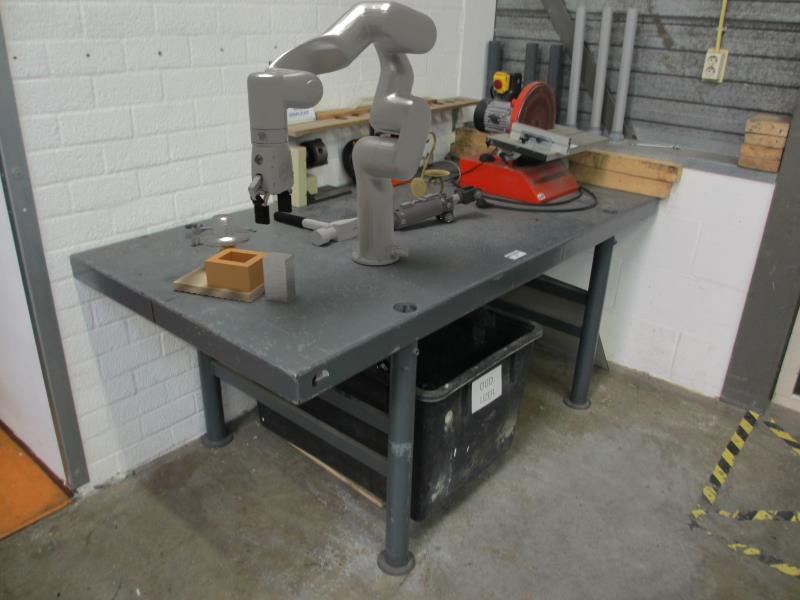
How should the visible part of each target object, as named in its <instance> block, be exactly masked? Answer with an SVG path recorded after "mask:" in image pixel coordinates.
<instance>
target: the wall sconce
mask: <svg viewBox="0 0 800 600" xmlns="http://www.w3.org/2000/svg"><path fill="white" fill-rule="evenodd" d="M430 134H431V135H432V139H433V144H432V145H431V149H430V151H429V153H428V156H427V157H426V159H425V162H424V165H423V167H422V171H421V176H420V177H413V178H412V181H411V183H410V190H411V193H412V194H413V196H414V197H416V198H420V199H421V198H422V197H423V196H426V195H427V194H426V193H427V190H428V191H429V192H431V191H434V190H435V187H434V186H437V183H438V181H437V180H438V179H439V181H440V190H439V192H438V193H439V194H442V193H444V180H443V177H447V176H449V175H450V174H451V173H450V171H448V170H445V169H427V166H428V165H429V162H430V160H431V157H432V156H433V153H434V151H435V148H436V145H437V135H436V133H435V132H434V131H433V130H430V131H429V134H428V135H430ZM429 142H431V141H430V139H429V138H427V141H426V144H429ZM425 176H426V177H427V176H428V177H430V178H429V180H428V182H427V184H426V181H424V179H425ZM433 180H434V181H433ZM432 181H433V183H432ZM431 183H432V184H433V187H431Z"/></svg>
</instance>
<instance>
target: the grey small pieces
mask: <svg viewBox="0 0 800 600" xmlns="http://www.w3.org/2000/svg"><path fill="white" fill-rule="evenodd" d="M243 228H244V229H246V230H248V231H249V232H252V233H253V232H254V231H256V232H257V230H256V229H254V227H253V228H252V227H243ZM209 229H214V226H212V227H210V226H208V227H207V226H206V227H205V226H203V227H202V226H201V224H200V223H198V224H196V223H194V224H193V227H191V233H190V240H191V245H192V246H194V247H196V243H197V245H198V246H201V245H203V244H201V243H200V240H199V237H198V236H199V235H200V234H201V233H202V232H204V231H206V230H209ZM197 237H198V240H197Z"/></svg>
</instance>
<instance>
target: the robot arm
mask: <svg viewBox="0 0 800 600" xmlns="http://www.w3.org/2000/svg"><path fill="white" fill-rule="evenodd" d="M437 37H438V32H437V26H436V23H435V21H433V19H432V18H431V16H429V15H428V14H425V13H423V12H421V11H418V10H416V9H414V8H412V7H410V6H408V5H405V4H402V3H400V2H397V1H393V0H363V1H358V2H356V3H354V4H353V5H351V6H350V8H349V9H347V10H346V11H345V12H344V13H343V14H342V15H340V17H339V18H338V19H337V20H336V21H334V22H333V23H332V24H331V25H330V26H329V27H328V28H326V30H325V31H323V32H322V33H320V34H319V35H317V36H314V37H312V38H310V39H308V40H306V41H304V42H302V43H300V44H298V45H295V46H294V47H292V48H290V49H288V50H286V51H285V52H284V53H282V54H281V55H279V56H278V57H277V58H276V59H275V60H274V61H273V62H272V63H270V64H269V65H268V67H267V68H265V70H264V71H255V72H251V73H249V74H248V76H247V79H246V88H247V102H248V103H247V105H248V115H249V116H248V117H249V132H250V144H251V161H250V163H251V164H250V165H251V166H250V167H251V168H250V169H251V183H250V184H249V186H248V187H247V191H248V194H249V198H250V200H251V203H252V205H253V209H254V222H255V224H257V225H258V224H259V225H267V226H268V225H270V224H271V218H270V214H271V213H270V206H269V205H268V202H269V199H270V196H276V197H277V198H276V199H277V211H278V212H283V213H287V214H291V213H292V212H293V203H292V202H293V201H292V194H293V189H292V188H293V186H294V184H295V181H294V180H295V178H294V177H295V176H294V174H295V172H294V168H293V159H292V152H291V145H290V142H289V126H288V109H299V110H307V109H308V110H309V109H311V108H314V107H315V106H317V105H318V104H319V103H320V102H321V100H322V98H323V95H324V86H323V82H322V81H321V79H320V78H319V77H318V76H320V75H323V74H324V75H325V74H331V73H333V72H338V71H341V70H344V69H346V68H347V67H349V66H350V65H351V64H352V63H353V62H354V61H355V60H356V59H357V58H358V57H359V56H360V55H362V53H363V52H364V51H365V50H366V49H367V48H368V47H369V46H371V44H373V46H374V50H375V51H376V53H377V57H378V59H379V60H378V61H379V65H380V66H379V68H380V73H379V78H378V82H377V86H376V90H375V92H374V96H373V100H372V104H371V108H370V111H369V124H370V126H371V127H372V128H373V130H376V131H377V132H379V133H384V134H390V135H396V136H398V139H396V138H390V137H383V136H377V135H369V136H368V135H367V136H364V137H361V138H359V139H358V140H357V141H356V143H355V144H354V145H353V148H352V152H351V153H352V154H351V158H352V159H351V160H352V165H353V170H354V175H355V181H356V182H355V183H356V212H357V213H356V214H357V215H356V217H357V236H356V237H357V248H356V249H354V250H353V251H352V253H351V258H352V261H354V262H355V263H358V264H361V265H365V266H386V265H390V264H393V263H396V262H397V261H398V260H399V259H400V257H406V258H407V257H408V256H409V249H408V248H407V246H399V245H398V240H395V239H394V235H395V234H394V233H395V232H394V229H395V228H394V210H395V192H394V191H395V190H394V187H393V184H392V181H391V180H395V181H399V182H400V181H401V182H402V181H404V182H406V181H410V180H411V179H413V178H414V176H415V175H416V174H417V172H418V170H419V167H420V165H421V161H422V159H423V155H424V152H425V147H426V145H427V143H426V141H427V140H428V139H429V138H428V137H429V135H430V134H429V131H431V125H432V118H433V117H432V109H431V106H430V103H429V102H428V101H427V100H426V98H423V97H421V96H418V95H417V96H416V95H412V90H413V87H414V82H415V73H414V69H413V66H412V64H411V62H410V60H409V58H408V56H407V54H409V55H425V54H427V53H429V52H430V51H432V50H433V48H434V47H435V44H436V43H437ZM262 196H263V197H262Z"/></svg>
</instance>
